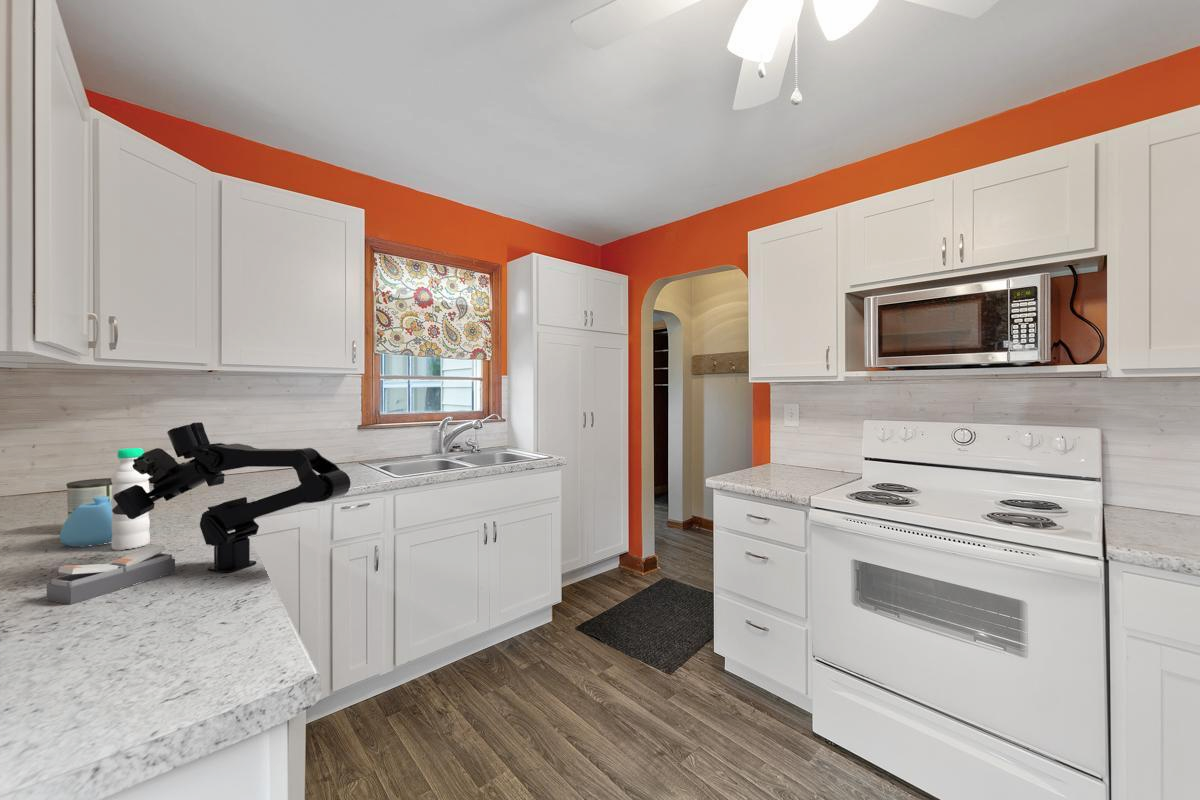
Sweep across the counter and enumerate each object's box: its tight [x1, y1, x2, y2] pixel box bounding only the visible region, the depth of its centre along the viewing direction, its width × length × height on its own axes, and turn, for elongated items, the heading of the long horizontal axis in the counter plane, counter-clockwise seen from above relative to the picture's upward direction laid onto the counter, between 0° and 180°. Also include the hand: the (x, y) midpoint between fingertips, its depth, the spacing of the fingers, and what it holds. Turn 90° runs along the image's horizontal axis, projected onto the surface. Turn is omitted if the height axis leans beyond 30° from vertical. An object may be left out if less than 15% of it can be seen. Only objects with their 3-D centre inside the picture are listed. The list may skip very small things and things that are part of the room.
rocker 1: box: [57, 563, 118, 575], centre depth 95 cm, size 4×7×1 cm, turn 163°
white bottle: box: [110, 447, 151, 551], centre depth 124 cm, size 7×7×25 cm
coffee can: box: [66, 477, 113, 518], centre depth 141 cm, size 10×10×14 cm
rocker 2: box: [112, 543, 166, 567], centre depth 103 cm, size 4×7×1 cm, turn 163°
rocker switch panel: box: [46, 552, 176, 605], centre depth 99 cm, size 7×17×4 cm, turn 163°
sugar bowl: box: [59, 496, 113, 547], centre depth 131 cm, size 15×15×12 cm
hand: (133, 502), depth 111 cm, fingers open, 9 cm apart
